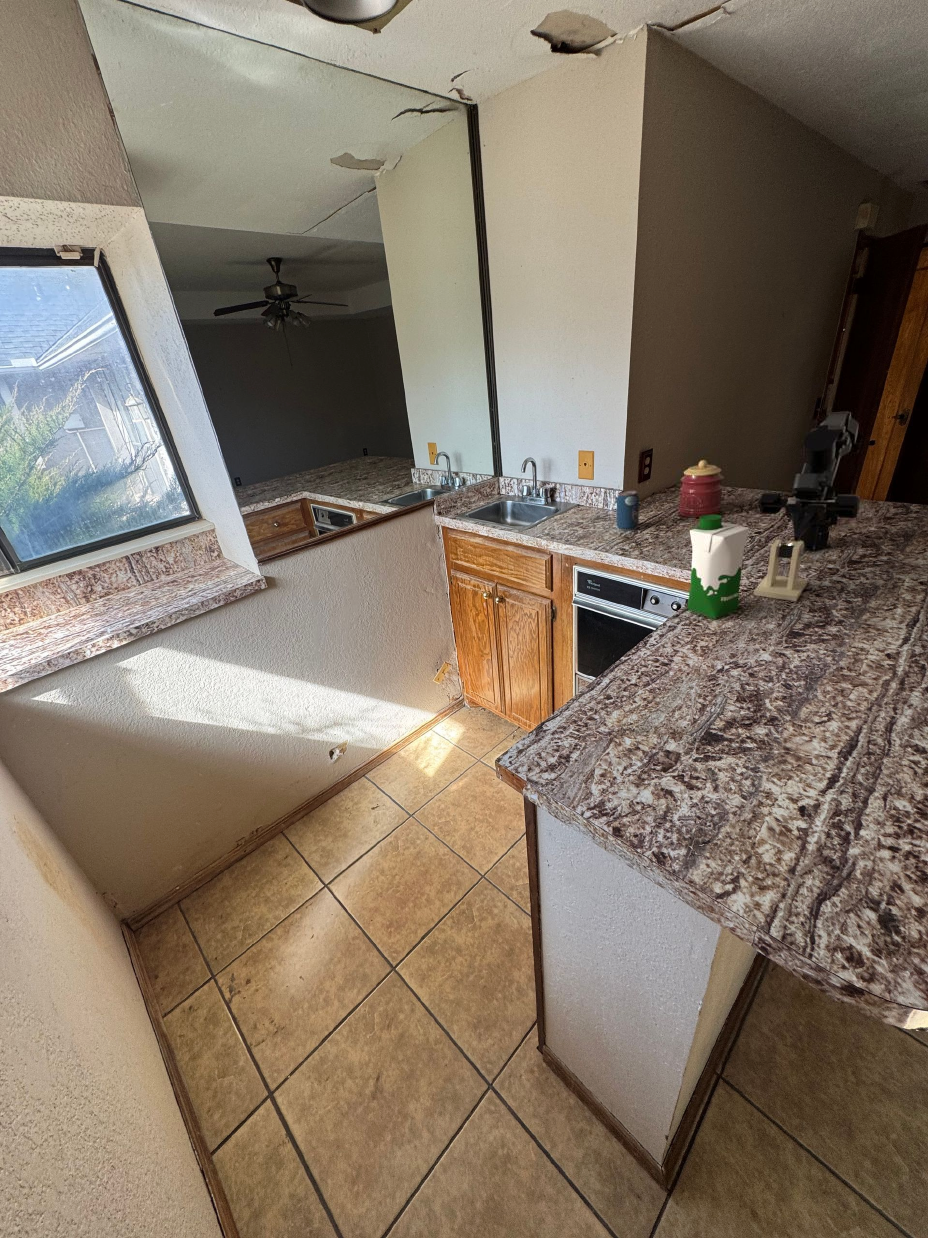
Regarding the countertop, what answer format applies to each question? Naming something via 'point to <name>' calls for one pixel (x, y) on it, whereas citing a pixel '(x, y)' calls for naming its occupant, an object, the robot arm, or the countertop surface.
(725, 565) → the milk carton
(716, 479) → the kitchen canister
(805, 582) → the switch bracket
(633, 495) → the soda can
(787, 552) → the switch lever
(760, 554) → the countertop surface
